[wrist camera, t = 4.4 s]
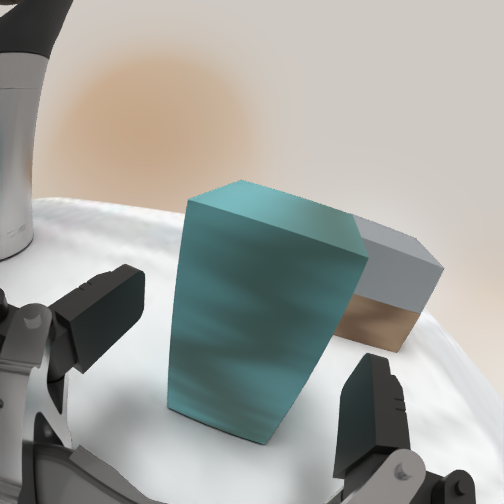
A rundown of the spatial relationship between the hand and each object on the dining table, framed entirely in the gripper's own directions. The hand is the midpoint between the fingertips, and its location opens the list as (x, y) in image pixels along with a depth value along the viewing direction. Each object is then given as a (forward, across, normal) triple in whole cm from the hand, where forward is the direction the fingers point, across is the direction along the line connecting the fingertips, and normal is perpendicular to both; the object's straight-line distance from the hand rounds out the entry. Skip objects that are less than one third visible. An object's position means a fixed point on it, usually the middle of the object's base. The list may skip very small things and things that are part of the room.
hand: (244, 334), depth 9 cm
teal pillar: (+2, 0, +6) cm, 6 cm away
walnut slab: (+14, -8, +6) cm, 17 cm away
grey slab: (+14, -8, +2) cm, 16 cm away
